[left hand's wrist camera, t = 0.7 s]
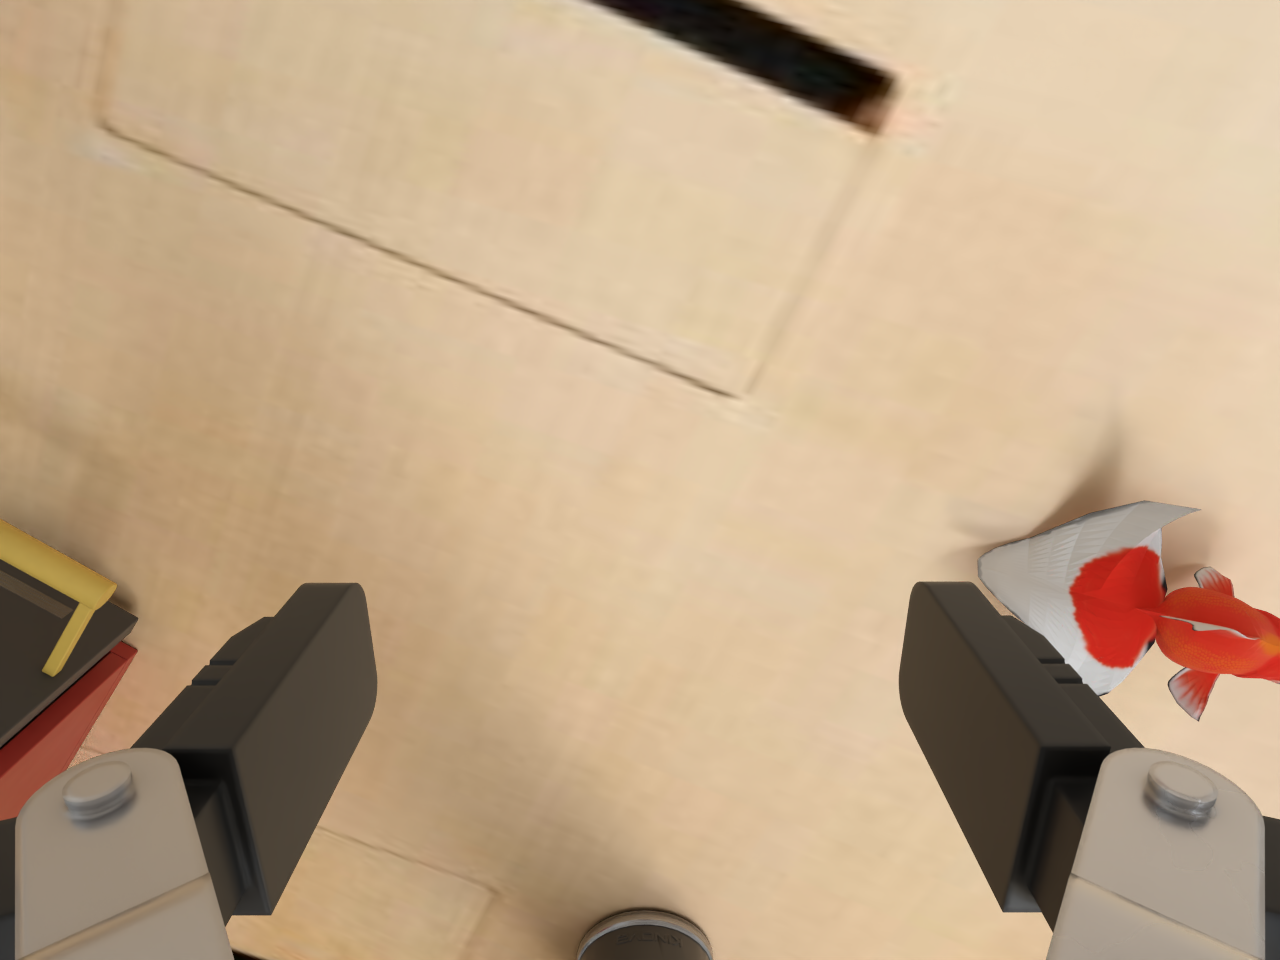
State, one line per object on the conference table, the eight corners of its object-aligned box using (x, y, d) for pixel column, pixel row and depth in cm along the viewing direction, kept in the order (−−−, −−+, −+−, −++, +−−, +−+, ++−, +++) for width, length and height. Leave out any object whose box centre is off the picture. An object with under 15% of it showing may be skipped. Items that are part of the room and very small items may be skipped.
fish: (1182, 784, 42) (1300, 839, 32) (922, 617, 45) (957, 621, 36) (1289, 618, 42) (1438, 623, 32) (1021, 466, 46) (1082, 430, 36)
